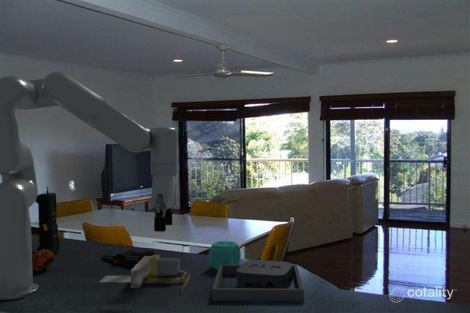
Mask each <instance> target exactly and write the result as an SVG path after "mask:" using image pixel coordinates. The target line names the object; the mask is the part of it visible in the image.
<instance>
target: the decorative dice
mask: <svg viewBox="0 0 470 313" xmlns="http://www.w3.org/2000/svg"><path fill="white" fill-rule="evenodd" d="M241 252H242V251H241V248H240V246H239V244H238V243H237V242H236V241H233V240H219V241H215V242H213V243H212V244H211V246H210V248H209V251H208V262H209V264H210V266H211V267H212V268H213V269H214V270H216V271H218V269H219V266H220V265H240V263H241V262H240V261H241V257H242V256H241Z"/></svg>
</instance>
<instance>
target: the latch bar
mask: <svg viewBox="0 0 470 313" xmlns="http://www.w3.org/2000/svg"><path fill="white" fill-rule="evenodd" d="M180 259H181V258H180V257H161V254H154V255H152V256H151V257H150V273H151V278H181V276H180V271H181V260H180Z"/></svg>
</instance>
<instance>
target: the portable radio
mask: <svg viewBox="0 0 470 313" xmlns="http://www.w3.org/2000/svg"><path fill="white" fill-rule="evenodd" d="M35 203H36V204H38V206H37V208H38V239H39V242H38V247H37V251H36V252H38V251H39V250H42V249H47V250H50V251H51V252H52V253H53V254H54V255H56V254H58V253H59V252H60V241H59V240H60V238H59V225H58V224H57V214H58V211H57V210H58V209H57V206H58V205H57V194H56V192H49V186H46V193H45V192H44V193H40V194H39V193H38V195H37V199H36V201H35Z"/></svg>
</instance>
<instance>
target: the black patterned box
mask: <svg viewBox="0 0 470 313" xmlns="http://www.w3.org/2000/svg"><path fill="white" fill-rule="evenodd" d="M152 255H155V251H154V250H150V251H149V250H146V251H143V252H137V250H135V249H130V250H126V251H124V252H120V253H104V254H102V256H101V258H100V260H101V261H102V262H110V263H113V264H114V263H115V264H117V265H118V266H120V265H122V266H123V265H124V266H131V267H132V266H133V267H135V266H136V265H137V264H138V262H139V261H140V260H141V259H142V258H143V257H144V256H152Z"/></svg>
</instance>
